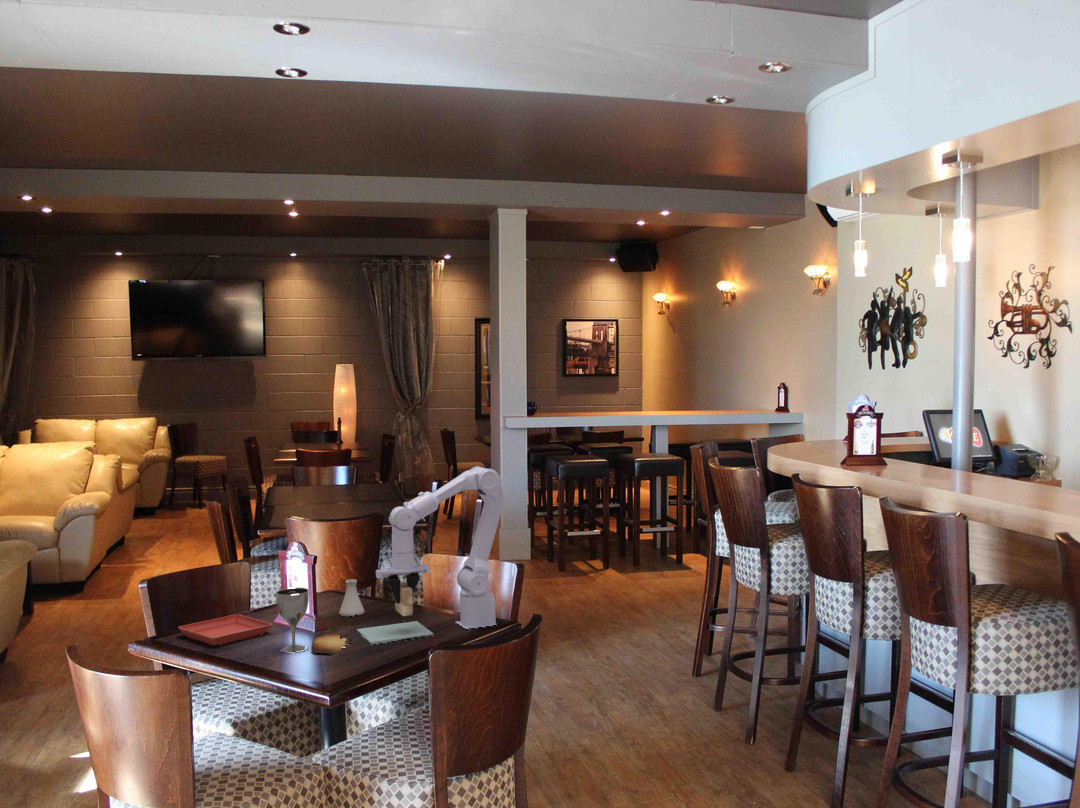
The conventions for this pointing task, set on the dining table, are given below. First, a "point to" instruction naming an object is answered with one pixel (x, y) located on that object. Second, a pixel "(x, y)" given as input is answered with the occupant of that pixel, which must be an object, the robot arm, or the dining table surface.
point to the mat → (393, 632)
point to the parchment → (329, 643)
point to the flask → (351, 600)
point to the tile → (405, 600)
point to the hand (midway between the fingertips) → (403, 602)
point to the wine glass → (292, 610)
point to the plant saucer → (225, 629)
